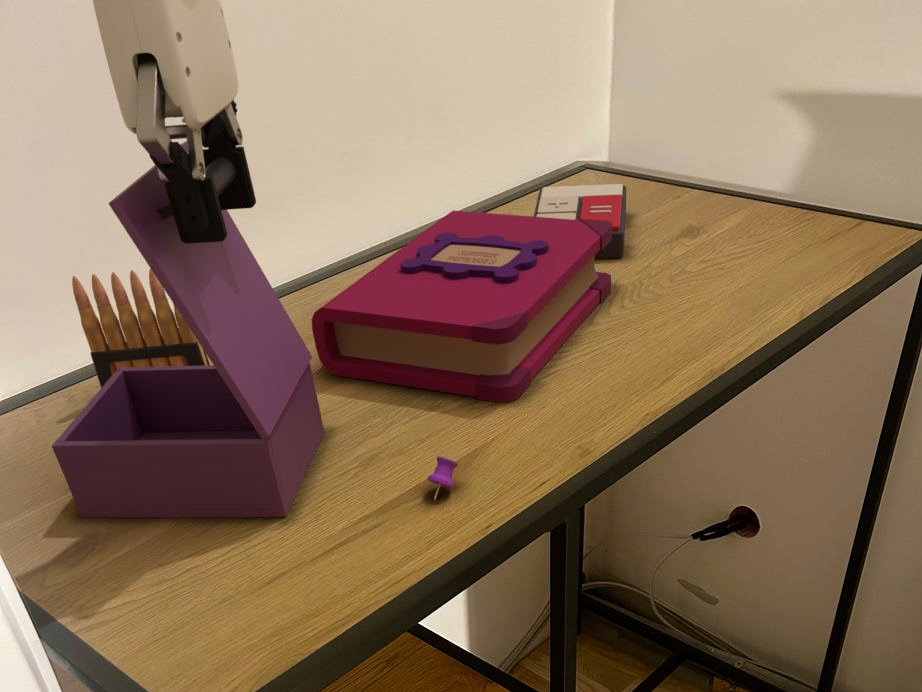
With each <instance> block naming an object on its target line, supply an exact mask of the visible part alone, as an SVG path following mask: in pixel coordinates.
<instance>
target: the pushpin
mask: <svg viewBox="0 0 922 692" xmlns="http://www.w3.org/2000/svg"><path fill="white" fill-rule="evenodd" d="M436 462H437V463H436V467H435V468H434V471H433V473H431V474H430V475H428V477H427V481H429V482H430V483H433V484H435V485H437V488H436V491H435V493H434V497H433V501H435V500H436V499H437V498H438V497H437V496H438V494H439V491H440V488H441V487H444V488H447V489H453V487H454V483H453V479H452V478H453V475H454V470H455V468H457V467H458V466H459V462H456V461H454V460H452V459H450V458H447V457H443V456H436Z"/></svg>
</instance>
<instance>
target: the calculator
mask: <svg viewBox="0 0 922 692" xmlns="http://www.w3.org/2000/svg"><path fill="white" fill-rule="evenodd" d="M533 217H545V218H559V219H572V220H579V219H592V220H605V221H609V222H612V240H611V241H610V242H609V244H608V245H607V246H606V247H605V248H604V249H603V250H602V251H598V252H597V253H596V254H595V256H594V260H595V259H597V260H598V259H621V258H624V254H625V234H626V222H627V221H626V218H627V186H626V185H624V184H622V183H607V184H606V183H605V184H585V185H582V184H581V185H562V186H561V185H559V186H544V187H542V188H541V189H539V191H538V196H537V199H536V204H535V209H534V212H533Z"/></svg>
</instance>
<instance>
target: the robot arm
mask: <svg viewBox="0 0 922 692" xmlns="http://www.w3.org/2000/svg"><path fill="white" fill-rule="evenodd" d="M92 3H93V7H94V13H95V17H96V22H97V25H98V30H99V35H100V38H101V42H102V46H103V51H104V55H105V59H106V62H107V66H108V69H109V73H110V74H109V75H110V77H111V81H112V85H113V88H114V92H115V96H116V100H117V102H118V106H119V110H120V114H121V117H122V120H123V123H124V125H125V127H126V128H127V129H128V130H129V131H130V132H131V133H132V134H134V135H136V138H137V140H138V143H139V144H140V145H141V147H142V148H143V149H144V150H145V151H146V152H147V153H148V155H149V158H150V160H151V161H152V163H153V164H154V165H156V166H157V168H158V174H159V178H160V180H161V182H162V183H164V184H165V188H166V191H167V195H168V198H169V201H170V205H171V208H172V212H173V215H174V219H175V222H176V226H177V229H178V232H179V236H180V239H181V240H182V242H184V243H187V244H188V243H206V242H221V241H224V240H225V238H226V237H227V230H226V226H225V223H224V219H223V215H222V211H221V210H227V211H229V210H244V209H252V208H254V206H255V205H256V203H257V198H256V194H255V190H254V185H253V182H252V176H251V172H250V169H249V164H248V160H247V156H246V151H245V148H244V146H243V143H244V137H243V132H242V129H241V127H240V124H239V122H238V118H237V112H238V108H237V107H238V105H237V102H235V98H236V97H237V95H238V93H239V92H238V91H239V80H238V74H237V68H236V62H235V58H234V53H233V48H232V43H231V40H230V35H229V32H228V27H227V23H226V19H225V16H224V12H223V7H222V4H221V0H92ZM167 118H174V119H175V118H182V119H181V122H182V123H183V124H172V125H166V119H167ZM181 139H186V141H187V146H188V154H189V155H188V154H187V153H186V151H185V150H184V149H183V148H182V146H181V145H180V144H181V143H180V142H179V141H173V140H181ZM219 157H224V158H227V159H229V160H230V161H231V162H232V163H233V165H234V166H235V169H236V178H235V180H234V181H233V182H232V183H231V184H230V185H229V186H228V187H227V188H226V189H225V191H224V192H223V193H222V194H221V195H220V196H219V197H218V195H217V191H216V188H215V184H214V180H213V176H206V171H205V168H206V167H207V166H208V165H209V164H210V163H212V162H213V161H214V160H215V159H216V158H219Z"/></svg>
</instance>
